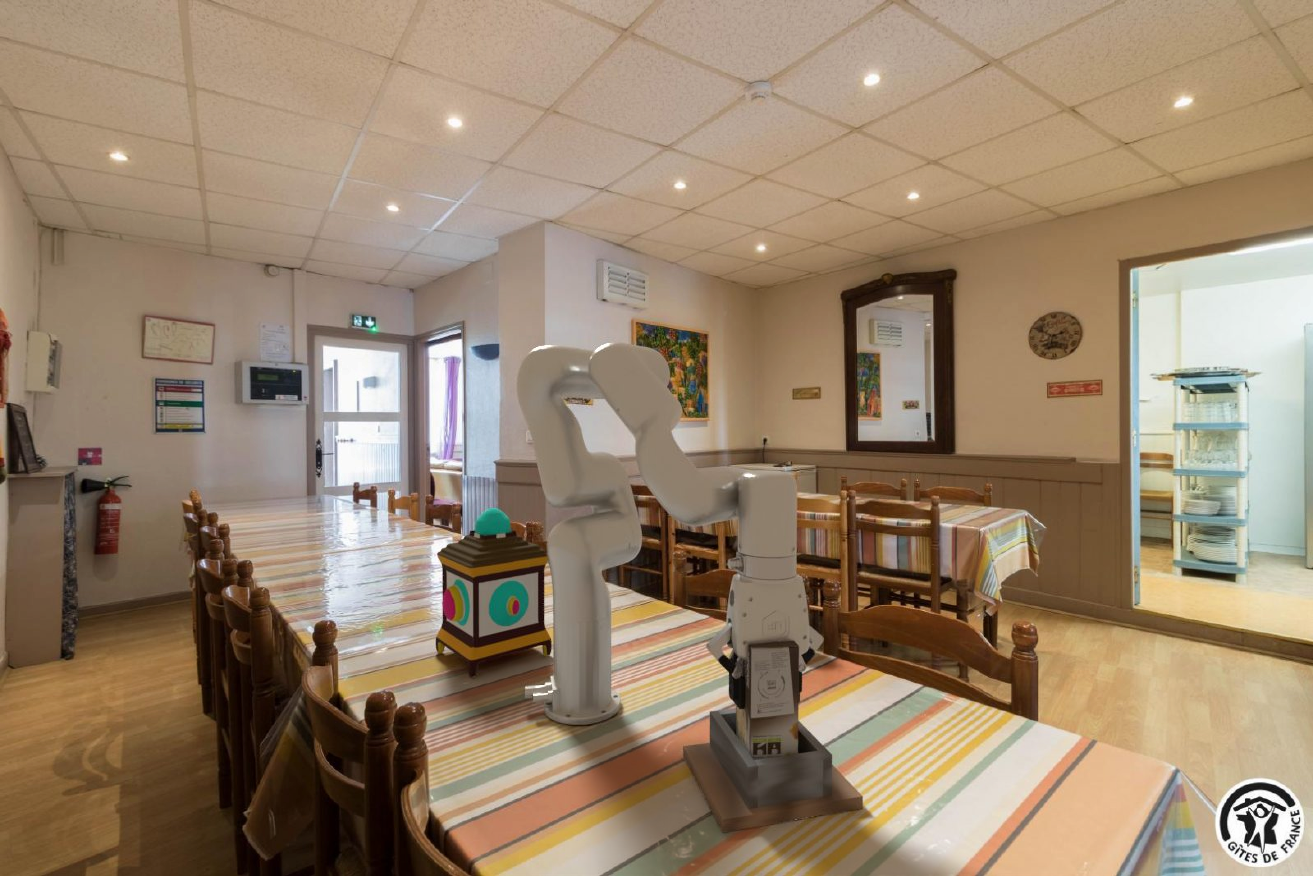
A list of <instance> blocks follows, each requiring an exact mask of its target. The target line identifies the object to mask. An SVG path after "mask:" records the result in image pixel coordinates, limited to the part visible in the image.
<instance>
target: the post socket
mask: <svg viewBox="0 0 1313 876" xmlns="http://www.w3.org/2000/svg"><path fill="white" fill-rule="evenodd" d="M682 757H683V759H684V761H685V764H686V765H687V767H688V769H689V770H690V773H691V774H692V776H693V778H694V780H695V783H696V784H697V786H698V787H699V789H700V792H701V794H702V797H704V800H705V801H706V803H707V805H708V807H709V809H710V811H711V813H712V815H713V818H715V821H716V823H717V824H718V827H719V828H720V830H721V833H728V832H735V831H741V830H746V829H752V828H753V829H754V828H757V827H764V826H769V825H775V824H780V823H781V824H782V823H786V821H788V822H791V821H790V820H793V821H796V820H795V819H799V820H803V819H802V818H805V819H807V818H806V817H811V818H813V817H812V816H817V817H819V816H818V815H822V816H827V815H826V814H828V815H832V814H833V813H834V814H839V813H845V812H844V811H846V812H849V810H851V811H857V810H861V809H862V810H863V809H864V808H863V805H864V803H863V802H864V796H863V795H862V793H860V791H858V789H856V788H855V786H853V784H852V783H851V782H849V780H848V779H847V778H846V777H845V776H844V775H843V774H842V772H841V771H840V770H838V769H837V768H836V766H835V765H834V764H833V754H832V753H831V752H830V751H829V750H828V749H827V748H826V747H825V746H824V745H823V744H822V743H821V741H819V740H818V739H817V738H816V737H815V736H814V735H813V733H812V732H811V731H810V730H808V728H807V727H806V726H805V725H804V724H803V723H802V722H801V721H800V720H799V719H798V754H792V755H785V756H778V757H771V758H764V759H757V760H754V759H753V758H752V757H751V755H750V754H749V753H748V751H747V750H746V748H745V747H744V746H743V744H742V743H741V742H740V740H739V739H738V737H737V736H736V707H735V708H727V709H726V708H725V709H718V710H712V711H711V710H710V711H709V742H705V743H697V744H688V745H683V746H682ZM837 812H839V813H837ZM834 814H833V815H834Z"/></svg>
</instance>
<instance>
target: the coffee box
mask: <svg viewBox="0 0 1313 876" xmlns="http://www.w3.org/2000/svg"><path fill="white" fill-rule="evenodd" d="M748 652H749V659H748V660H745V669H744V671H743V673H742V676H743V677H744V678H745V708H744V709H739V708H738V707H737V705H736V704H735V708H736V736H737V737H738V739H739V740H740V742H741V743H742V744H743V746H744V747H745V748H746V750H747V751H748V753H749V754H750V755H751V757H752V758H753V759H754V760H757V759H764V758H771V757H778V756H785V755H792V754H798V720H799V703H800V702H799V646H798V644H797V643H796V642H795V641H781V642H778V641H776V642H768V643H759V644H749V645H748ZM798 702H799V703H798Z"/></svg>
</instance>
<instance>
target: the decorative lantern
mask: <svg viewBox="0 0 1313 876" xmlns="http://www.w3.org/2000/svg"><path fill="white" fill-rule="evenodd" d="M511 528H512V527H511V521H510V518H509V516H508V515H506V513H504V512H503V511H502V510H501V509H499V508H495V507H490V508H487V509H485V510H484V511H483V512H482V513H481V514H480V515H479V516H478V517H477V518H476V520H475V525H474V530H469V534H467V535H465V536H464V537H463V538H462V539H459V540H458V541H457V542H451V543H448V544H447V545H446V546H445V547H443V548H441V549H440V551H438V552H436V556H437V559H438V561H439V562H440V564H441V569H442V571H441V572H442V575H441V576H442V601H441V603H442V605H441V606H442V623H441V626H440V628H439V630H438V632H437V634H436V636H435V650H436V653H438V654H443V653H444V652H445V648H446V649H448V650H449V651H451V652H452V653H454V654H455V655H456V656H457V657H460V659H462V660H464V661H465V663H466V664H467V671H468V676H469V677H470V678H471V679H474V678H476V676H477V671H478V666H479V665H480V664H481V663H482V662H485V661H489V660H492V659H496V658H500V657H503V656H507V655H510V654H515V653H518V652H522V651H526V650H528V649H533V648H537V647H540V646H541V647H542V654H543V656H544V657H549V656H550V655H551V653H552V649H553V648H552V647H553V644H552V643H553V642H552V638H551V636H550V634H549V632H548V631H547V628H546V625H545V624H546V623H545V568H546V566H547V563H548V562H549V561H548V556H547V550H545V549H544V548H541V547H540V545H539V544H535V543H532V542H529V541H528V540H526V539H523V537H522V536H521V535H518V534H517V531H516V530H512V529H511Z"/></svg>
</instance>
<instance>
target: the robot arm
mask: <svg viewBox="0 0 1313 876" xmlns="http://www.w3.org/2000/svg"><path fill="white" fill-rule="evenodd" d="M670 371H671V370H670V367H669V363H668V362H667V360H666V358H665V357H664V356H663V354H661V353H660V352H659V351H658V350H656V349H654V348H651V347H647V346H642V345H637V344H630V343H625V342H609V343H608V342H607V343H605V344H603V345H600V346H599V347H598V348H596V349H595V350H592V349H586V348H579V347H574V346H566V345H559V344H558V345H557V344H555V345H554V344H551V345H550V344H549V345H542V346H541V345H540V346H538V347H535V348H533V349H532V350H530V351H529V352H528V353H527V354H526V355H525V356H524V358H523V359H522V361H521V363H520V366H519V369H518V373H517V376H516V377H517V378H516V393H517V394H516V395H517V400H518V403H519V404H518V405H519V406H520V410H521V413H522V415H523V417H524V420H525V422H526V425H527V428H528V430H529V434H530V437H531V438H530V439H531V442H532V447H533V448H532V449H533V453H534V455H535V460H536V465H537V469H538V474H539V479H540V482H541V488H542V491H543V493H544V496H545V498H546V501H547V502H548V504H549V505H550V506H551V507H553V508H554V509H556V510H575V509H582V508H588V507H589V508H590V507H591V510H592V513H589V514H588V513H587V514H583V515H576V516H572V517H569V518H565V519H564V520H562V521H560V522H559V523H557V524H556V525H554V526H553V528H552V529H551V531H549V534H548V537H547V539H546V540H547V541H546V553H547V556H548V561H547V562H548V566H549V570H550V576H551V585H552V586H551V587H552V615H553V619H552V620H553V623H552V625H553V627H552V628H553V631H552V632H553V635H552V636H553V642H552V643H553V644H552V647H553V648H552V649H553V673H552V674H553V675H550V677H549V678H550V681H546V682H544V684H541V685H540V684H537V685H536V684H531V685H525V686H524V698H525V699H526V700H527V699H532V703H533V704H539V703H543V711H544V714H545V715H546V716H547V717H548V718H549V719H551V720H553V721H554V722H557V723H560V724H565V725H573V726H584V725H591V724H593V725H594V724H598V723H600V722H603V721H606V720H608V719H610V718H611V717H613V716H615V715H616V714H617V713H618V712H619V711H620V708H621V704H622V700H621V695H620V694H619V693H618V692H617V691H616V690H615V689H613V688H612V597H611V593H610V589H609V587H608V586H607V583H606V581H605V579H604V577H603V573H602V571H605V570H607V569H611V568H615V567H618V566H620V565H624V564H626V563H629V562H631V561H633V560H634V559H635V558H636V557H637V556H638V554H639V553H640V551H641V548H642V542H643V533H642V526H641V522H640V518H639V514H638V510H637V506H636V502H635V497H634V494H633V493H634V492H633V489H632V486H631V482H630V478H629V474H628V472H627V470H626V468H625V466H624V464H623V463H622V462H621V461H620V459H619V458H617V456H615V455H614V454H612V453H609V452H606V451H589V450H588V448H587V445H586V443H585V439H584V437H583V431H582V428H581V425H580V422H579V421H578V418H577V416H575V414H574V412H573V411H572V409H570V407H569V406H568V405H567V404H566V403H565V401H564V400H565V398H575V399H589V400H590V399H591V400H605V401H606V402H607V404H608V406H610V408H611V409H612V410H613V412H614V413H615V414H616V416H617V417H618V418H619V419H620V421H621V422H622V423H623V425H624V426H625V428H627V429H628V431H629V432H630V433H631V436H633V438H634V440H635V443H634V444H635V445H634V446H635V447H634V448H635V449H634V451H635V458H636V462H637V463H636V464H637V467H638V468H637V469H638V471H639V475H640V476H641V479H642V480H643V482H644V484H645V486H646V487H647V488H648V490H649V492H651V494H652V495H653V496H654V497H655V499H656V500H657V502H658V503H659V504H660V505H661V507H662V508H663V509H664V510H665V511H666V512H667V514H668V515H670V516H671V518H672V519H674V520H675V521H677V522H678V523H680V524H682V525H684V526H688V527H693V528H694V527H703V526H707V525H711V524H715V523H718V522H725V521H730V520H734V519H735V520H737V551H736V553H735V554H736V556H735V557H733V558H728V559H727V567H728V569H729V570H733V571H736V572H737V573H736V574H733V576H732V580H731V583H730V588H729V589H730V590H729V595H728V602H727V608H726V609H727V611H726V621H725V626H724V627H723V628H722V629H721V630H720V631H718V632H717V633H716V635H715V636H713V637H712V638H711V639H710V640H709V641H708V642H707V643H706V649H707V651H708V652H709V653H710V654H711V655H712V656H713V657H714V658H715V660H716V661H717V662H718V663H719V665H720V666H722V667H723V669H725V670H726V671H727V672H728V697H729V699H730V700H731V701H732V702H733V703H734V705H735V706H736V705H737V707H738V708H739V709H744V708H745V678H744V677H743V676H742V673H743V671H744V669H745V660H748V659H749V652H748V645H749V644H759V643H768V642H776V641H778V642H781V641H795V642H796V643H797V644H798V646H799V702H798V704H799V703H800V702H801V693H802V692H803V672H805V671H806V670H807V665H808V664H809V663H810V662H811V660H812V659H813V658H814V656H815V655H816V651H817V650H819V648H820V647H821V645H822V644H823V643H824V640H825V639H824V637H823V635H821V634H820V633H819V632H818V631H817V630H816V629H814V628H813V627H812V626H810V621H809V619H808V615H809V610H808V609H809V608H808V601H807V594H806V589H805V588H806V587H805V583H804V578H803V577H802V576H800V575H799V574H797V554H798V553H797V551H798V550H797V548H798V547H797V543H798V542H797V539H798V538H797V535H798V529H797V528H798V526H797V525H798V524H797V523H798V522H797V521H798V483H797V479H796V478H795V476H794V475H793V474H792V473H789V472H787V471H782V470H781V471H780V470H751V469H746V468H742V467H737V466H730V465H725V466H724V465H723V466H721V465H720V466H709V467H699V468H698V467H696V466H695V464H694V463H692V461H691V460H690V459H689V458H688V456H687V455H686V453H685V452H684V451H683V450H682V449H681V448H680V446H679V445H678V442H677V441H676V440H675V437H674V436H673V432H672V431H673V430H674V429H675V428H676V427H677V425H678V424H679V422H680V420H681V418H682V416H683V407H682V403H681V402H680V401H679V399H677V397H676V396H675V395H674V394H673V393H672V392H671V390H670V389H669V388H668V386H669V383H670V380H671V379H670V377H671V372H670ZM725 645H727V647H729V648H730V649H731V652H730V654H729V656H727V655H726V654H725V653H724V652H723V647H724V646H725Z"/></svg>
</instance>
